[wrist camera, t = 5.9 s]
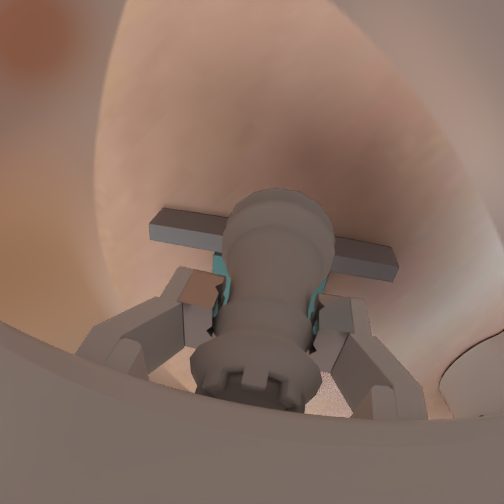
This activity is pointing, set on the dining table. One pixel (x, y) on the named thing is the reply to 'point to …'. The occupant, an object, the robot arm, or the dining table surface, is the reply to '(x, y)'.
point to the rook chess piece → (268, 303)
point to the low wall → (212, 227)
